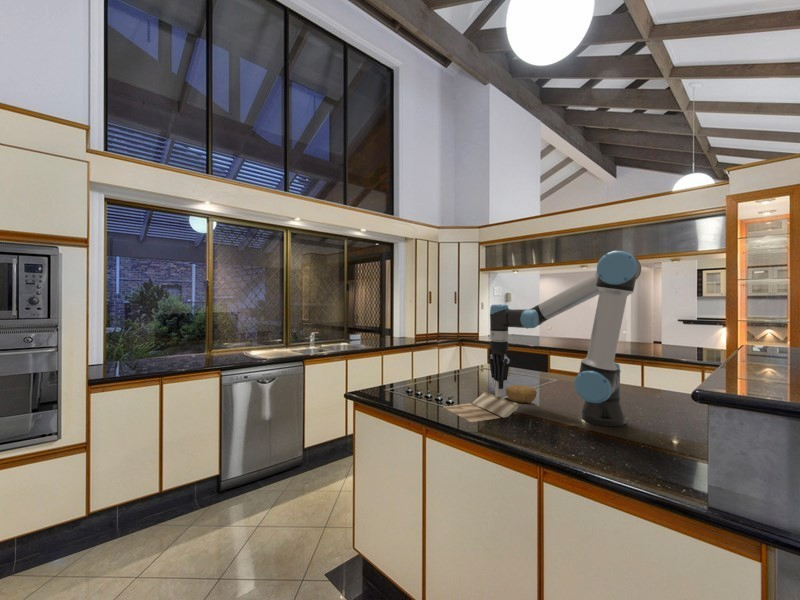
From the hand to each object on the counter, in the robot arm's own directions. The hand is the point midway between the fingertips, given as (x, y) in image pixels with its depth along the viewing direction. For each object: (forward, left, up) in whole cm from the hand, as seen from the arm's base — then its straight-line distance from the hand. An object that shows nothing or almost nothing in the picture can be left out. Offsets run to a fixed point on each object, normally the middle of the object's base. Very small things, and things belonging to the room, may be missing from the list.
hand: (499, 395), depth 158 cm
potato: (+6, -17, -7) cm, 19 cm away
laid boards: (0, +14, -6) cm, 16 cm away
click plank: (0, +2, -4) cm, 5 cm away
